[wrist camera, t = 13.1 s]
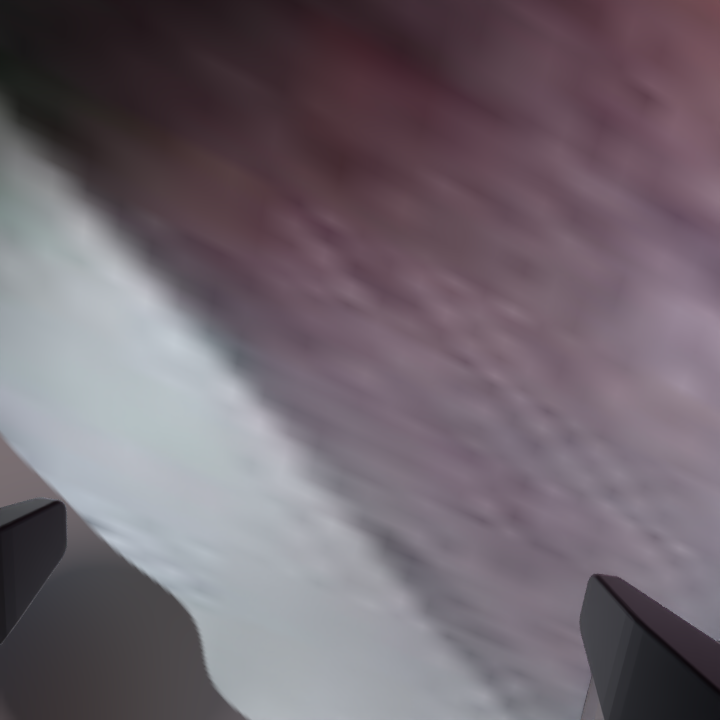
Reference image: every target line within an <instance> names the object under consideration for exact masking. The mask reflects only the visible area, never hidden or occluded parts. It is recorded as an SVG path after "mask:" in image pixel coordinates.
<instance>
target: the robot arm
mask: <svg viewBox="0 0 720 720" xmlns="http://www.w3.org/2000/svg"><path fill="white" fill-rule="evenodd" d="M66 547H67V512H66V506H65V503H64V502H63V501H61V500H57V499H50V498H42V497H39V498H35V499H31V500H27V501H23V502H20V503H16V504H12V505H9V506H5V507H1V508H0V646H1V644H2V643H3V642H4V641H5V639H6V638H7V637H8V635H9V634H10V633H11V631H12V630H13V628H14V627H15V626H16V624H17V623H18V621H19V620H20V618H21V617H22V616H23V614H24V613H25V611H26V610H27V609H28V607H29V606H30V604H31V603H32V601H33V600H34V598H35V597H36V596H37V594H38V593H39V591H40V590H41V588H42V587H43V585H44V584H45V583H46V581H47V580H48V578H49V577H50V575H51V574H52V572H53V571H54V569H55V568H56V566H57V565H58V564H59V562H60V561H61V559H62V558H63V556H64V553H65V551H66ZM580 631H581V636H582V639H583V643H584V647H585V651H586V654H587V658H588V662H589V666H590V670H591V673H592V677H593V681H594V685H595V689H596V692H597V696H598V700H599V704H600V707H601V711H602V715H603V718H604V720H720V644H719V643H718V642H716V641H715V640H713V639H712V638H710V637H709V636H707V635H706V634H704V633H703V632H701V631H700V630H698V629H697V628H695V627H694V626H692V625H691V624H689V623H688V622H686V621H685V620H683V619H682V618H680V617H679V616H677V615H676V614H674V613H673V612H671V611H670V610H668V609H667V608H665V607H663V606H662V605H660V604H659V603H657V602H656V601H654V600H653V599H651V598H650V597H648V596H647V595H645V594H644V593H642V592H641V591H639V590H638V589H636V588H635V587H633V586H632V585H630V584H629V583H627V582H626V581H624V580H623V579H621V578H619V577H617V576H611V575H604V574H593V575H592V576H591V577H590V579H589V581H588V584H587V588H586V593H585V597H584V601H583V606H582V610H581V614H580Z"/></svg>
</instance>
